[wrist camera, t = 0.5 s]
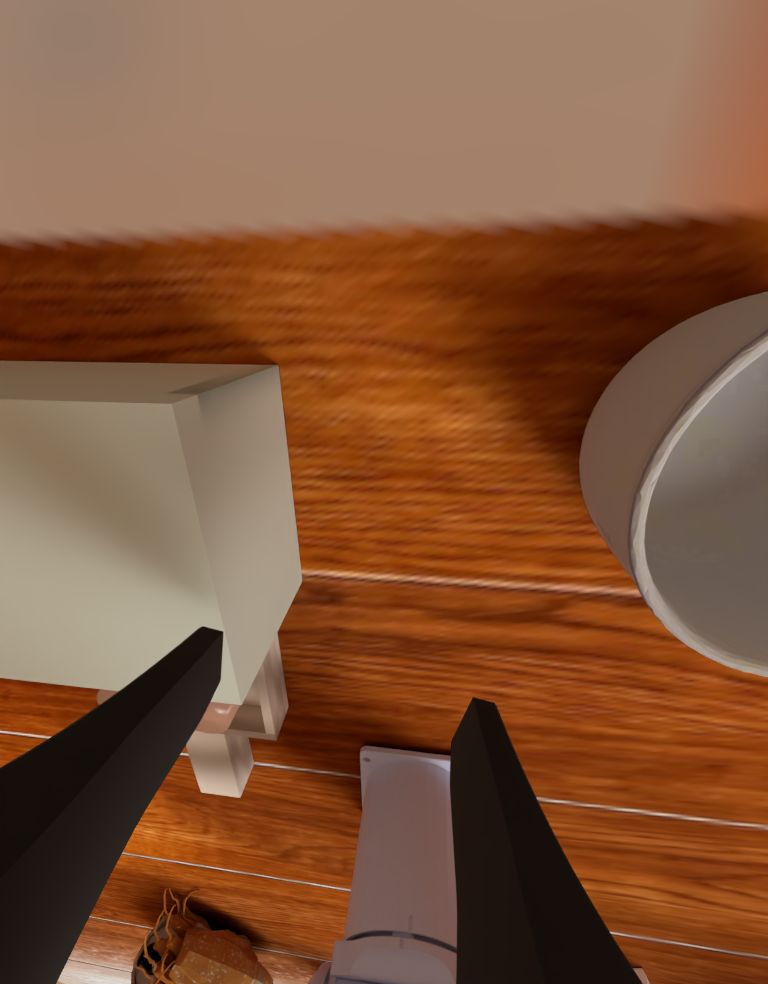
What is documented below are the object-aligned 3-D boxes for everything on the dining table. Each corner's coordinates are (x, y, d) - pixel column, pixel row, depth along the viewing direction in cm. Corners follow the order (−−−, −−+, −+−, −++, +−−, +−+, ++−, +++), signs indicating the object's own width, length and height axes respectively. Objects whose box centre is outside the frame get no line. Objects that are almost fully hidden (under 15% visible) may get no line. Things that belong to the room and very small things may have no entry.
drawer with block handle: (297, 768, 30) (287, 804, 28) (175, 753, 31) (156, 786, 29) (271, 590, 23) (254, 618, 21) (114, 577, 24) (83, 603, 22)
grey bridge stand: (302, 580, 22) (241, 705, 15) (77, 563, 24) (-72, 669, 17) (278, 364, 17) (171, 404, 10) (-5, 360, 19) (-266, 391, 12)
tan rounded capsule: (263, 675, 25) (234, 736, 22) (219, 671, 26) (183, 730, 22) (257, 641, 24) (225, 699, 20) (210, 636, 24) (171, 692, 21)
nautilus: (127, 858, 42) (262, 866, 41) (175, 958, 50) (290, 967, 49) (66, 968, 35) (229, 983, 33) (134, 1065, 42) (268, 1080, 41)
